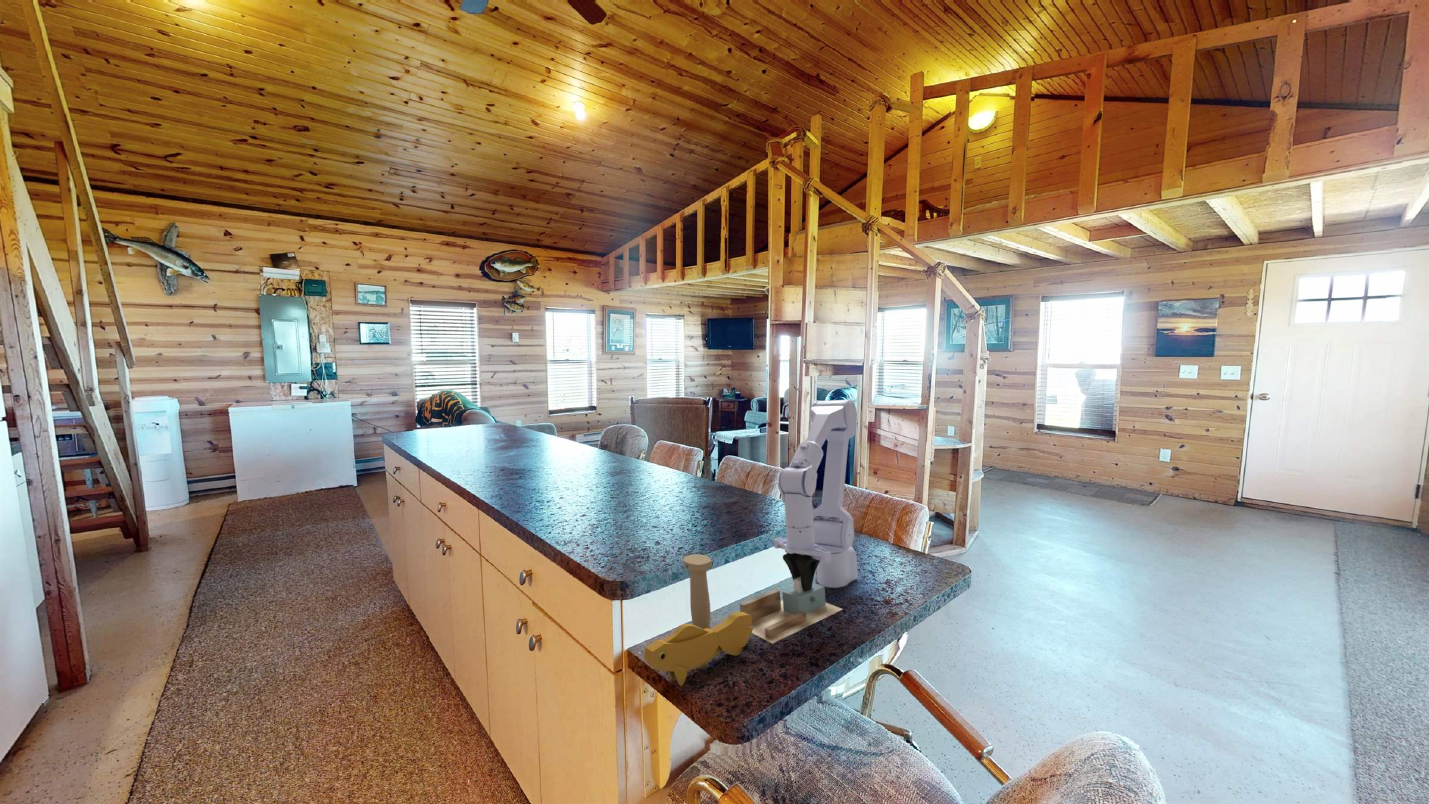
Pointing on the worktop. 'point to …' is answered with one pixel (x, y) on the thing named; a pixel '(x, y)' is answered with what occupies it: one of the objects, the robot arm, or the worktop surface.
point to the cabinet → (803, 598)
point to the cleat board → (780, 616)
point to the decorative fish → (698, 645)
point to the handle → (699, 589)
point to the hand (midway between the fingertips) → (803, 588)
